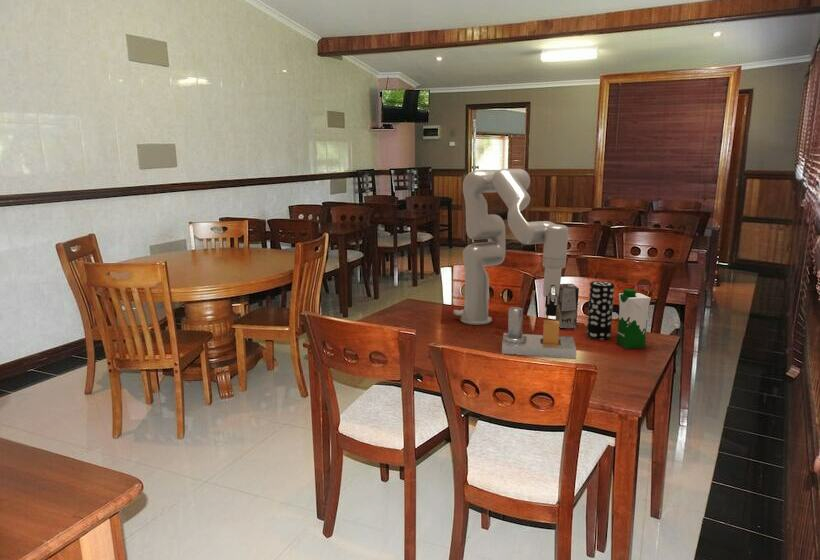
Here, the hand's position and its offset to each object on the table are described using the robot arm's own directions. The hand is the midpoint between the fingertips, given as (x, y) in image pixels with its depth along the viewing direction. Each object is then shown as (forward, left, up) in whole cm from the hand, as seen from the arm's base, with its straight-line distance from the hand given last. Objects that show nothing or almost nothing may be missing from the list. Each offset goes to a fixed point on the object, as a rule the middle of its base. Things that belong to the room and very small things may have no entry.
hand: (550, 311), depth 193 cm
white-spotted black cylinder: (+19, +18, -14) cm, 29 cm away
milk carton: (+29, +10, -14) cm, 33 cm away
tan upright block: (+1, -1, -14) cm, 14 cm away
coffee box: (+8, +30, -14) cm, 34 cm away
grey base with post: (-3, -1, -14) cm, 14 cm away
